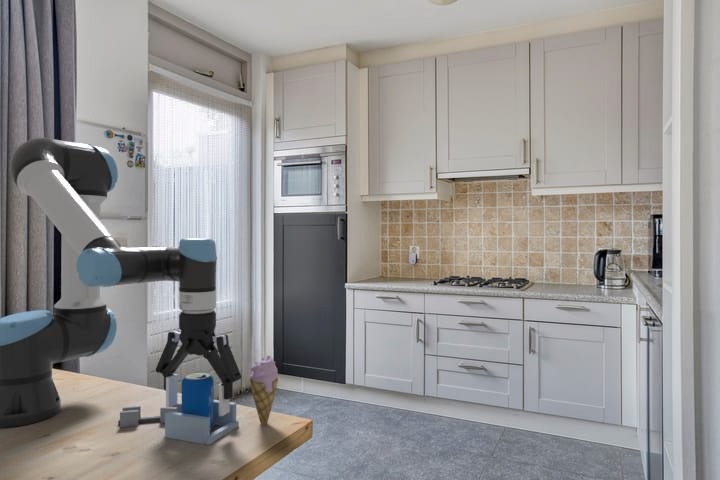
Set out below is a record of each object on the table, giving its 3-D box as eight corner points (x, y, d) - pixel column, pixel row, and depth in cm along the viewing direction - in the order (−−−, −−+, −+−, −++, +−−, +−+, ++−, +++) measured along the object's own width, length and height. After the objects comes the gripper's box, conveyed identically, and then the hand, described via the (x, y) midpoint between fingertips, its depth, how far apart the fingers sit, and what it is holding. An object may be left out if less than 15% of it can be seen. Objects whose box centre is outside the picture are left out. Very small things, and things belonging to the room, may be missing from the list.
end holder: (165, 437, 101) (165, 413, 101) (197, 419, 111) (197, 397, 111) (208, 445, 98) (208, 420, 98) (238, 425, 107) (238, 403, 107)
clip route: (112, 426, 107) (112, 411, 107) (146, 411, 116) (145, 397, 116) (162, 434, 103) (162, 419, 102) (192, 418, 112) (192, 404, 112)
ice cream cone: (285, 424, 108) (285, 356, 108) (261, 432, 104) (261, 362, 104) (266, 416, 113) (266, 351, 113) (243, 424, 108) (243, 356, 108)
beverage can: (203, 438, 101) (203, 380, 101) (175, 435, 102) (175, 378, 102) (218, 426, 107) (218, 371, 107) (192, 423, 109) (192, 369, 108)
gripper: (138, 309, 105) (138, 407, 106) (237, 317, 97) (237, 424, 97) (163, 304, 112) (163, 397, 113) (257, 311, 104) (257, 411, 104)
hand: (197, 409), depth 105 cm, fingers open, 13 cm apart
